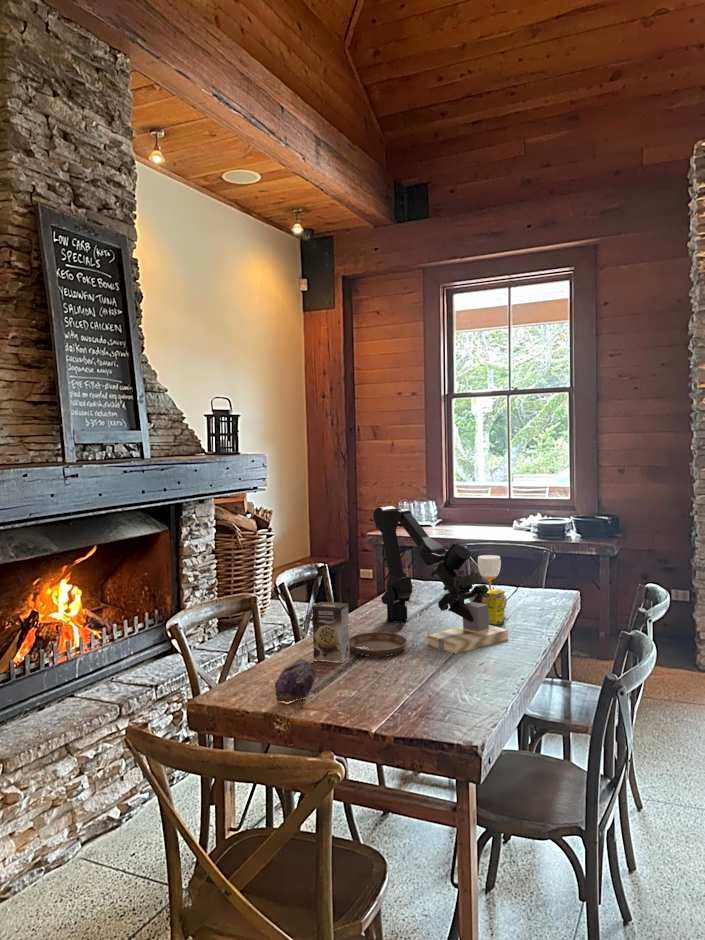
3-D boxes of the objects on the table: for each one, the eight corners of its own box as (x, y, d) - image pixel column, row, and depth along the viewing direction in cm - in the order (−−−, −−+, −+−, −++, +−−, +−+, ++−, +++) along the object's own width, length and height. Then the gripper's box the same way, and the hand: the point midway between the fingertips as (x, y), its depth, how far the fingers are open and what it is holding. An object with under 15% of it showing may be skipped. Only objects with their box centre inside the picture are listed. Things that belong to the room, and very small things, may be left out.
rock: (271, 709, 176) (309, 711, 173) (266, 676, 174) (304, 678, 171) (290, 685, 187) (326, 687, 183) (285, 654, 185) (322, 656, 182)
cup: (506, 597, 277) (505, 556, 276) (493, 602, 270) (492, 559, 269) (486, 594, 283) (485, 554, 282) (473, 599, 276) (472, 557, 276)
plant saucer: (418, 652, 214) (418, 641, 214) (368, 663, 205) (367, 652, 205) (386, 638, 229) (385, 628, 229) (337, 648, 220) (337, 638, 220)
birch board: (455, 654, 210) (454, 643, 209) (427, 644, 219) (427, 635, 219) (508, 639, 222) (507, 629, 222) (479, 631, 232) (479, 622, 232)
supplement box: (497, 627, 237) (496, 594, 236) (480, 624, 240) (479, 592, 240) (505, 622, 241) (504, 590, 241) (488, 620, 245) (488, 588, 244)
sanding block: (463, 630, 224) (462, 604, 223) (473, 626, 227) (472, 601, 226) (478, 633, 219) (477, 607, 219) (488, 630, 222) (488, 604, 222)
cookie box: (312, 661, 207) (310, 606, 206) (321, 655, 213) (319, 600, 212) (342, 664, 204) (340, 607, 203) (350, 657, 210) (348, 602, 209)
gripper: (444, 567, 219) (473, 609, 211) (483, 559, 231) (512, 598, 223) (425, 589, 225) (453, 631, 217) (464, 580, 237) (492, 619, 230)
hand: (479, 619), depth 222 cm, fingers open, 6 cm apart
